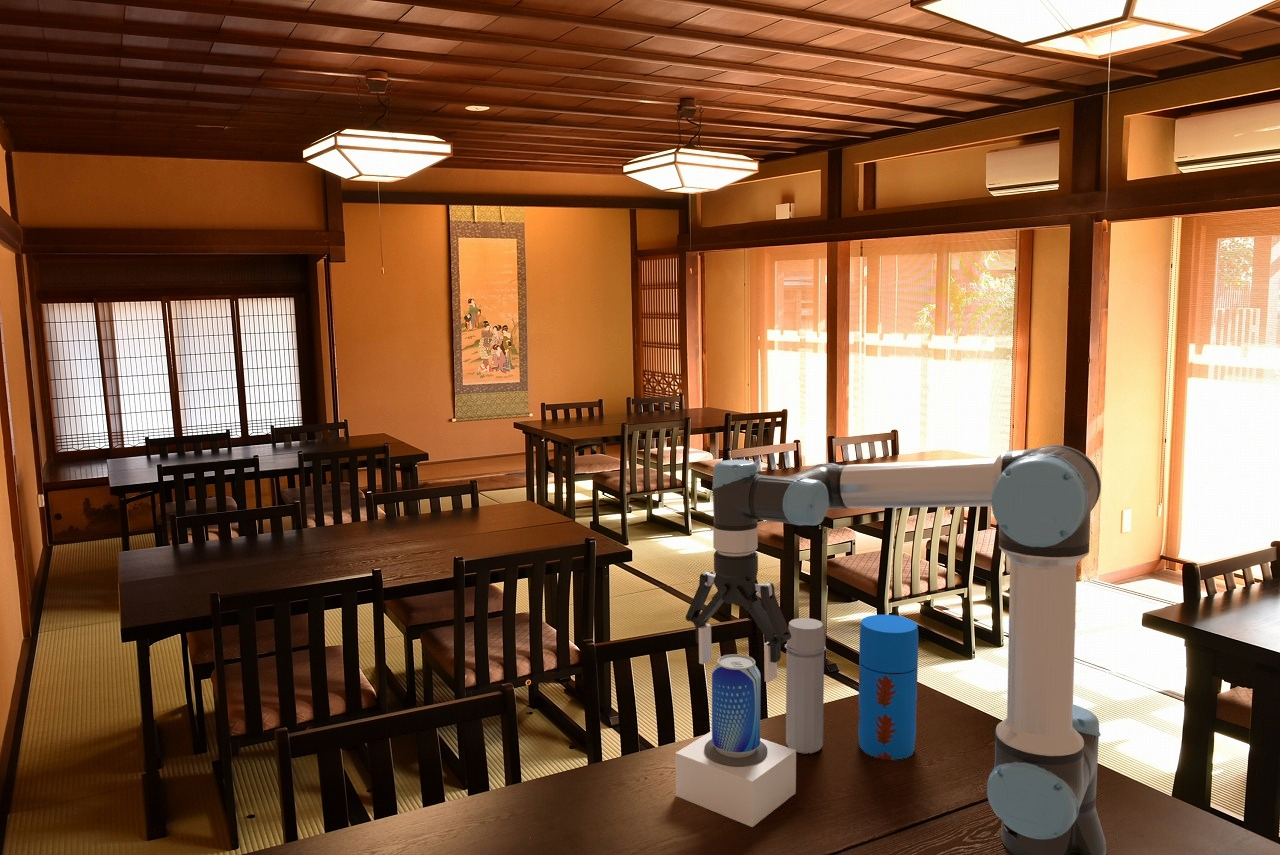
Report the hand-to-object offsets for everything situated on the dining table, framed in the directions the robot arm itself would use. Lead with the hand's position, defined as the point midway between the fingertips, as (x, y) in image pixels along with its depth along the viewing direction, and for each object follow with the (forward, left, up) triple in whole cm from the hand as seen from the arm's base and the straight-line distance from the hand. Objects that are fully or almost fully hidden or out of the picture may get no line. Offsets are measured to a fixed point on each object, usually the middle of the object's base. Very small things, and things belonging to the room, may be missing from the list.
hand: (737, 670), depth 160 cm
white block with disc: (0, 0, -23) cm, 23 cm away
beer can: (0, 0, -15) cm, 15 cm away
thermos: (-13, -33, -23) cm, 42 cm away
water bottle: (0, -24, -23) cm, 33 cm away
